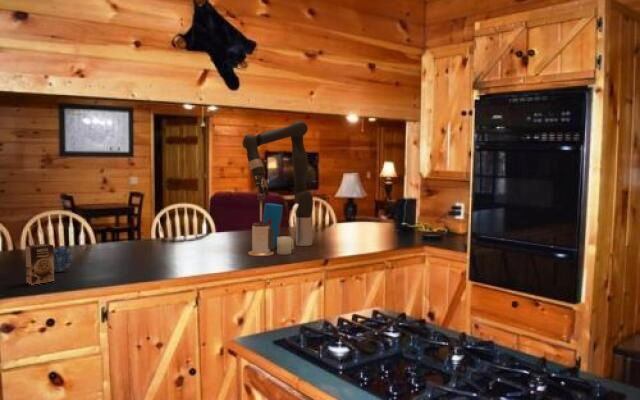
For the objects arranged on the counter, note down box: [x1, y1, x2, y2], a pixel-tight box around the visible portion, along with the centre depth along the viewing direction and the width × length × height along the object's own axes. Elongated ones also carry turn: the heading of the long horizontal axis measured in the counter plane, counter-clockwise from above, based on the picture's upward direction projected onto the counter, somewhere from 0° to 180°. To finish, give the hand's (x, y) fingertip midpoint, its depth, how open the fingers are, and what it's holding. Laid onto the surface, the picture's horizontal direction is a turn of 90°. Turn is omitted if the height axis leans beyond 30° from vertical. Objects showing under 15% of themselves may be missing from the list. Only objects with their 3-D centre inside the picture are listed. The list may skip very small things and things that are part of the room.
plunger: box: [257, 193, 266, 224], centre depth 298 cm, size 5×5×22 cm
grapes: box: [53, 245, 74, 273], centre depth 249 cm, size 12×7×12 cm, turn 120°
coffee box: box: [25, 243, 55, 286], centre depth 228 cm, size 9×6×16 cm
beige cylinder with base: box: [247, 222, 275, 257], centre depth 299 cm, size 14×14×17 cm
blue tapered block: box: [262, 202, 284, 249], centre depth 321 cm, size 11×11×25 cm
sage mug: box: [276, 235, 295, 255], centre depth 303 cm, size 9×8×9 cm
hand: (264, 194), depth 308 cm, fingers open, 8 cm apart
